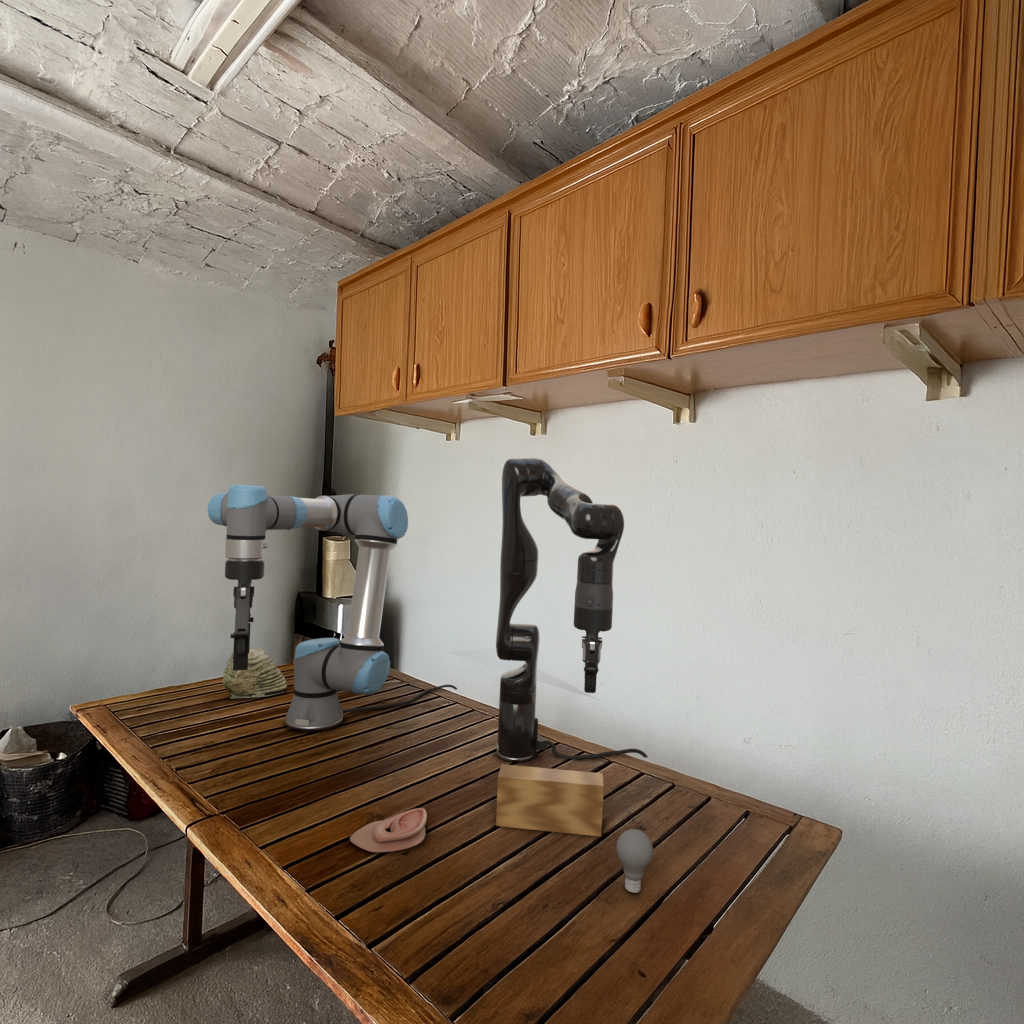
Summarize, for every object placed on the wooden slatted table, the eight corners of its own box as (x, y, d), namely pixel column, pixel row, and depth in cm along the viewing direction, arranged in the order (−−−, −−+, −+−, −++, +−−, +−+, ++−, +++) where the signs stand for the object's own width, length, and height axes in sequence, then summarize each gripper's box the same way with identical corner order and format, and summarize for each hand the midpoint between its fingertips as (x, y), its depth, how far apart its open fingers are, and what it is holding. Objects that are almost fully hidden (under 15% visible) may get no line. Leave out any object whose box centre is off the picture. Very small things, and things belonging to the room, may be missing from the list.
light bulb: (610, 879, 108) (613, 822, 108) (644, 879, 109) (647, 822, 109) (619, 902, 102) (622, 840, 102) (655, 901, 103) (658, 840, 103)
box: (495, 826, 125) (497, 776, 125) (499, 811, 131) (501, 764, 130) (601, 836, 123) (603, 785, 122) (600, 821, 128) (602, 773, 128)
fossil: (218, 695, 195) (220, 647, 195) (278, 685, 208) (279, 640, 207) (228, 703, 189) (230, 653, 188) (289, 692, 201) (290, 645, 201)
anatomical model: (342, 825, 115) (369, 797, 126) (341, 847, 115) (368, 817, 126) (412, 836, 112) (433, 806, 123) (411, 859, 112) (432, 826, 123)
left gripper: (264, 566, 121) (260, 676, 122) (264, 553, 144) (261, 646, 145) (221, 566, 119) (217, 678, 119) (228, 553, 142) (225, 647, 142)
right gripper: (614, 611, 118) (610, 698, 118) (611, 600, 132) (607, 677, 132) (573, 609, 118) (569, 695, 119) (575, 598, 133) (571, 675, 133)
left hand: (241, 661), depth 132 cm, fingers open, 13 cm apart
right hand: (589, 686), depth 125 cm, fingers open, 8 cm apart
